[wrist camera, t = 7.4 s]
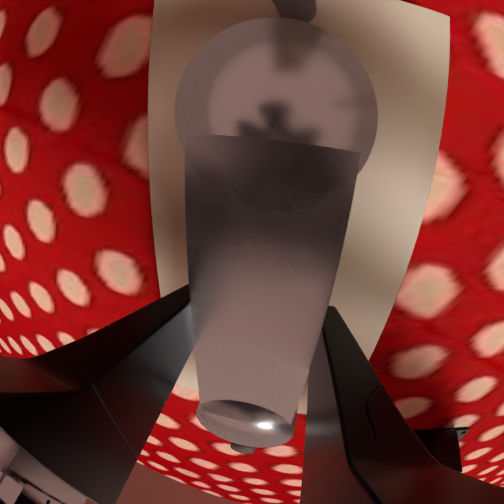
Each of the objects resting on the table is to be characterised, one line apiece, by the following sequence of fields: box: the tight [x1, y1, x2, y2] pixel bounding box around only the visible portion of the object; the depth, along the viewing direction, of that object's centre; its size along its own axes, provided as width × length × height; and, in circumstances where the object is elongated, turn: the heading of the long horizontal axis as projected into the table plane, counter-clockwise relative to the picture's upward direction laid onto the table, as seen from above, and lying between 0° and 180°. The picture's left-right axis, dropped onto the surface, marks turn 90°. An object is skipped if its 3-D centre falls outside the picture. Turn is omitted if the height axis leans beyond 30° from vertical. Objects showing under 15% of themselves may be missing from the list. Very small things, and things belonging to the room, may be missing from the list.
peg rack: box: [148, 0, 450, 454], centre depth 10 cm, size 20×10×5 cm, turn 176°
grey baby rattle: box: [174, 17, 378, 447], centre depth 9 cm, size 15×4×2 cm, turn 176°
